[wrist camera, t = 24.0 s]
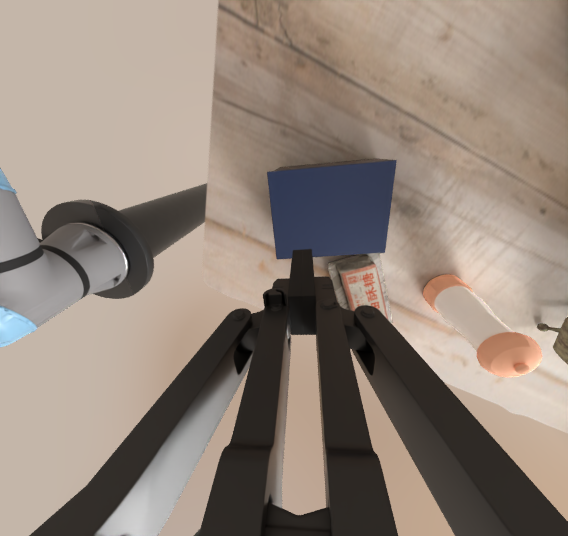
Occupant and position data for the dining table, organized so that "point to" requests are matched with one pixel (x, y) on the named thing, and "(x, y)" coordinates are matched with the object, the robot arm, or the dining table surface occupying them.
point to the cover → (332, 208)
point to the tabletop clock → (559, 339)
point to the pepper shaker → (482, 328)
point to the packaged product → (360, 283)
